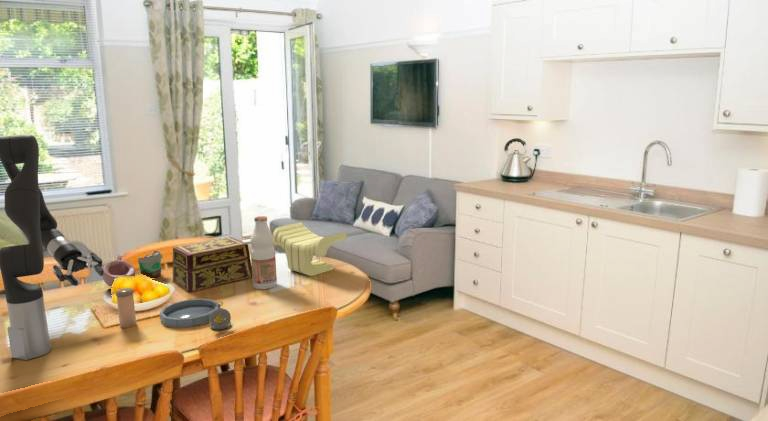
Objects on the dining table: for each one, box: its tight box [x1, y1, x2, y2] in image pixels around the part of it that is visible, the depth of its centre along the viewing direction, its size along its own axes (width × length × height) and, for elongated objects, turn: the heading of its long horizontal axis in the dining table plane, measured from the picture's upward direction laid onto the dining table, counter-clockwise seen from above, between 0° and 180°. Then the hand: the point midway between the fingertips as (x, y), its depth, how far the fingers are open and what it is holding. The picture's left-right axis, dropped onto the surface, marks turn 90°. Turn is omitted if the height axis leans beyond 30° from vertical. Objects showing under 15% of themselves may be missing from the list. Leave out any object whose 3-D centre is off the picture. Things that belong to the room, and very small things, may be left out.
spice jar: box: [115, 287, 137, 329], centre depth 190 cm, size 5×5×12 cm
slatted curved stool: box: [272, 221, 347, 277], centre depth 246 cm, size 30×16×18 cm, turn 47°
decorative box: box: [172, 236, 253, 294], centre depth 236 cm, size 28×19×15 cm
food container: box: [137, 250, 163, 280], centre depth 241 cm, size 12×6×10 cm, turn 168°
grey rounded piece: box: [209, 301, 232, 330], centre depth 187 cm, size 8×8×10 cm
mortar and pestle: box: [101, 259, 136, 288], centre depth 228 cm, size 12×12×11 cm
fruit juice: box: [250, 215, 278, 290], centre depth 225 cm, size 9×9×28 cm
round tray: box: [159, 298, 219, 328], centre depth 198 cm, size 19×19×3 cm
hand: (89, 278), depth 191 cm, fingers open, 8 cm apart
